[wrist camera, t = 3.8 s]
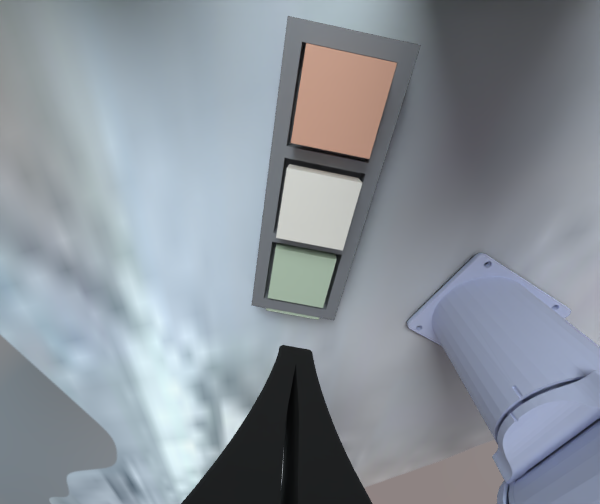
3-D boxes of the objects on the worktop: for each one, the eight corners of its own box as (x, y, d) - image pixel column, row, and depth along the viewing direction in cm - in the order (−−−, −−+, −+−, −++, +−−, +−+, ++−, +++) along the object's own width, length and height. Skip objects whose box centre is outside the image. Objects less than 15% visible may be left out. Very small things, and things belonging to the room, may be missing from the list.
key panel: (331, 304, 21) (333, 323, 19) (257, 291, 21) (251, 308, 19) (405, 56, 14) (420, 45, 12) (291, 31, 14) (288, 15, 12)
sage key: (322, 296, 20) (322, 307, 19) (270, 286, 20) (267, 297, 18) (335, 250, 18) (336, 259, 17) (278, 239, 18) (275, 248, 17)
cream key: (340, 241, 17) (342, 250, 15) (278, 229, 16) (275, 237, 15) (358, 177, 15) (362, 182, 14) (289, 164, 15) (286, 167, 13)
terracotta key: (364, 155, 14) (369, 158, 13) (292, 141, 14) (290, 142, 13) (389, 69, 12) (397, 62, 11) (307, 51, 12) (306, 43, 11)
